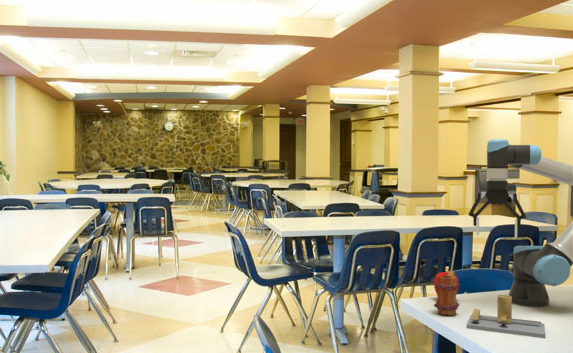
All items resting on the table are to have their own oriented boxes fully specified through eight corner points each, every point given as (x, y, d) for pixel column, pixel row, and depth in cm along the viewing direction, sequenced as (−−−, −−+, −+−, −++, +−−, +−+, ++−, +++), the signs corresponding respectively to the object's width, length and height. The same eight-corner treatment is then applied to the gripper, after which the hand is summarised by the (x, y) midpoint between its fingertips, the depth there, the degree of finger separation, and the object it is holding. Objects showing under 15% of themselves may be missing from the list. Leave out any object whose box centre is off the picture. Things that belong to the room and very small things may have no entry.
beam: (541, 325, 178) (541, 316, 178) (541, 331, 171) (541, 322, 171) (472, 317, 187) (472, 308, 187) (470, 323, 181) (470, 313, 181)
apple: (445, 296, 223) (445, 267, 223) (464, 301, 215) (464, 271, 215) (428, 299, 218) (429, 270, 218) (447, 304, 210) (447, 274, 210)
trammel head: (511, 320, 183) (511, 296, 183) (510, 327, 175) (511, 301, 175) (498, 318, 185) (498, 294, 185) (496, 325, 177) (496, 300, 177)
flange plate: (544, 327, 181) (544, 323, 181) (545, 338, 169) (545, 334, 169) (470, 318, 191) (470, 314, 191) (466, 328, 179) (466, 324, 179)
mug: (454, 318, 190) (454, 277, 190) (432, 315, 195) (432, 274, 194) (464, 309, 203) (464, 270, 203) (442, 306, 207) (443, 268, 207)
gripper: (533, 180, 199) (532, 236, 199) (464, 179, 209) (463, 232, 210) (533, 180, 192) (532, 238, 192) (461, 179, 202) (461, 234, 203)
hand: (496, 235), depth 201 cm, fingers open, 13 cm apart
